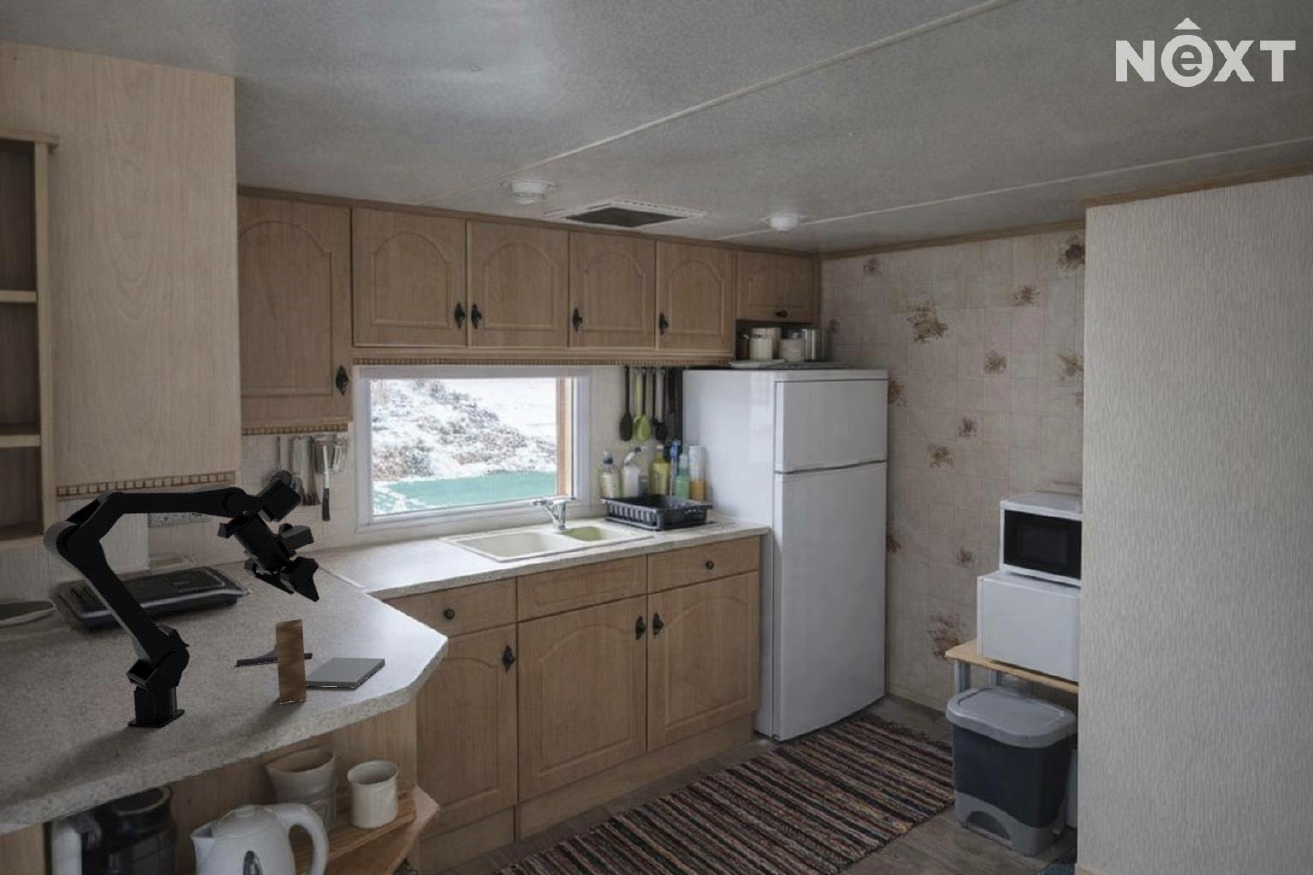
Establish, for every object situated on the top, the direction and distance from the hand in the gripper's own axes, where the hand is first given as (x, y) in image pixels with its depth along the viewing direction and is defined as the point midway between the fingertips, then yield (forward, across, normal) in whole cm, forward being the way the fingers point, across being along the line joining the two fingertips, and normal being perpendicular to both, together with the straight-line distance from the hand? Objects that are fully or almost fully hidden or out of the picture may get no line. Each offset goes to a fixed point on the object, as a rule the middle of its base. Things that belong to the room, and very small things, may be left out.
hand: (305, 596), depth 172 cm
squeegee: (+15, +18, +6) cm, 24 cm away
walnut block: (+8, -10, +16) cm, 20 cm away
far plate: (+15, -7, +6) cm, 17 cm away
